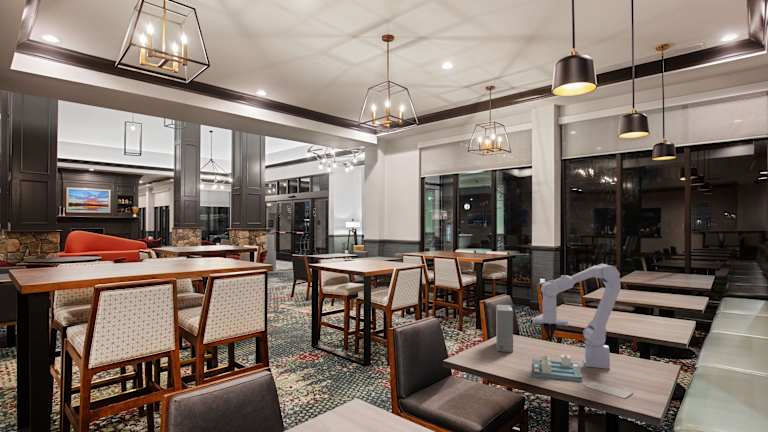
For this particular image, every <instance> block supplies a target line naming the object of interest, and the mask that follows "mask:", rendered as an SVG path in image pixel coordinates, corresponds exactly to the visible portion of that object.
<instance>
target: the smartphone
mask: <svg viewBox="0 0 768 432" xmlns="http://www.w3.org/2000/svg"><path fill="white" fill-rule="evenodd" d="M583 387H584V388H588V389H592V390H594V391H598V392H601V393H604V394H607V395H610V396H611V395H612V396H614V397H617V398H620V399H621V398H622V399H624V400H626V399H629V398H630V397H631V396H633V395H634V392H631V391H627V390H623V389H621V388H616V387H614V386H609V385H606V384H602V383H599V382H595V381H589V382H588V383H586V384H584V385H583Z"/></svg>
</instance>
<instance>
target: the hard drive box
mask: <svg viewBox="0 0 768 432" xmlns="http://www.w3.org/2000/svg"><path fill="white" fill-rule="evenodd" d="M495 314H496V315H495V318H496V319H495V321H496V322H495V323H496V324H495V325H496V326H495V328H496V329H495V333H496V335H495V337H496V351H497V352H507V353H514V310H513V308H512V305H511V304H510V305H509V304H496V306H495Z"/></svg>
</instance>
